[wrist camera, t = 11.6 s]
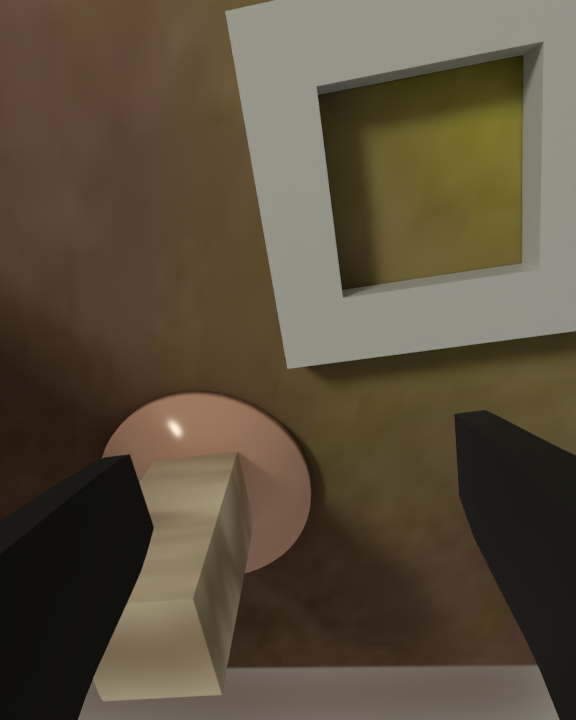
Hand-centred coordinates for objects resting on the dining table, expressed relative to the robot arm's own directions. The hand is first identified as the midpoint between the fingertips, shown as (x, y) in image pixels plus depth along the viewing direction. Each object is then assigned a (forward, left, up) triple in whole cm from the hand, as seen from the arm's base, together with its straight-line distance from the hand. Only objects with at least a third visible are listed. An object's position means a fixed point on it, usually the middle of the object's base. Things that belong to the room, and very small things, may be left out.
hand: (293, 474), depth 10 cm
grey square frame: (+5, -5, -10) cm, 12 cm away
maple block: (-7, +6, -9) cm, 13 cm away
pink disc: (-7, +6, -10) cm, 13 cm away
